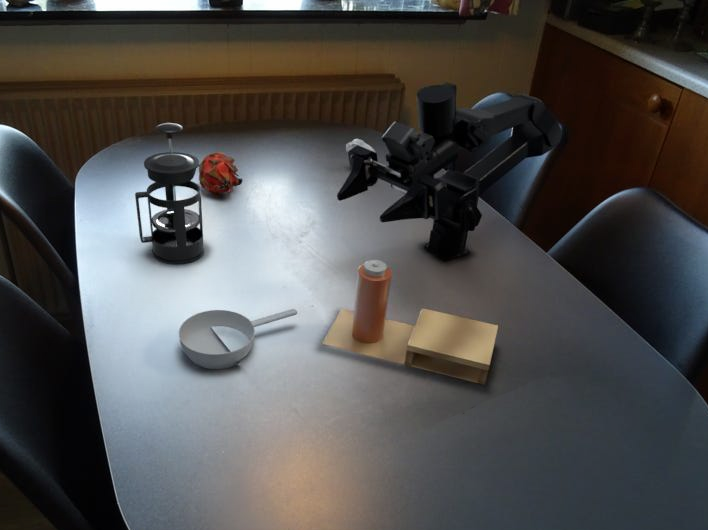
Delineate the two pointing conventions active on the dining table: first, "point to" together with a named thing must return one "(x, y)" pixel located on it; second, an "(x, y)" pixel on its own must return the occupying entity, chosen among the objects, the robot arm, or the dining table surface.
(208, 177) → the dragon fruit
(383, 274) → the pepper mill
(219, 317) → the saucepan
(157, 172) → the french press
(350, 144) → the frog figurine
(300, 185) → the dining table surface
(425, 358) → the stand
